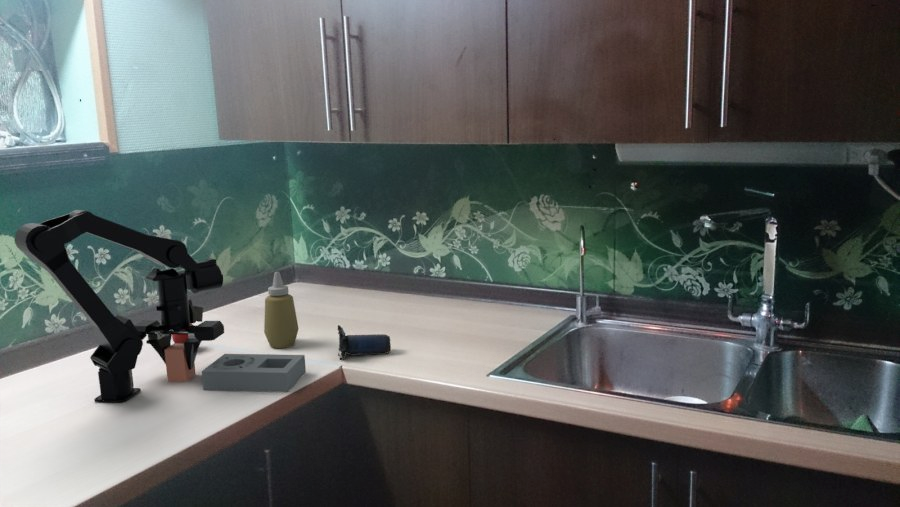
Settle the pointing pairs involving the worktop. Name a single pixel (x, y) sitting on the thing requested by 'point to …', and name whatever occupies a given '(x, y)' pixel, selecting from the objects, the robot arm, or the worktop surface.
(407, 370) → the worktop surface
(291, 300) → the squeeze bottle
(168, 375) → the square peg
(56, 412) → the worktop surface
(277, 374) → the socket block
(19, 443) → the worktop surface
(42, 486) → the worktop surface
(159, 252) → the robot arm
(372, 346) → the flanged blue cylinder
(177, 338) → the onion
